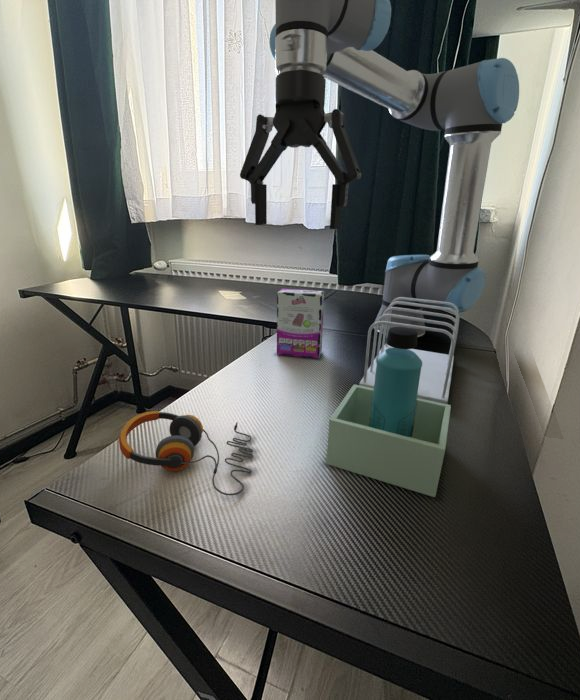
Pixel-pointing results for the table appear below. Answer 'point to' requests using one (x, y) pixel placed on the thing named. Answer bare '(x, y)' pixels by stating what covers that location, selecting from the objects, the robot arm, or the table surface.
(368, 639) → the table surface
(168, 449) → the headphones
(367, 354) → the file sorter
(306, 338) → the candy bar box
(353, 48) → the robot arm
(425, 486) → the basket
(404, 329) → the beverage bottle
